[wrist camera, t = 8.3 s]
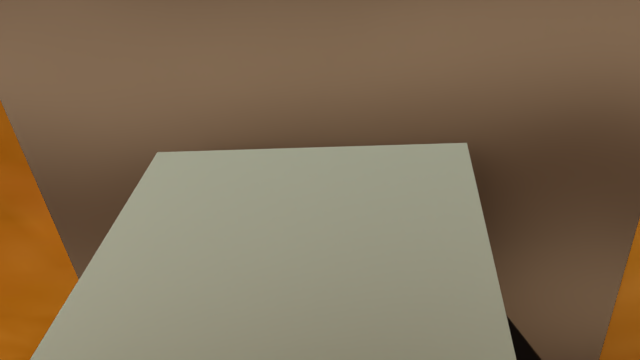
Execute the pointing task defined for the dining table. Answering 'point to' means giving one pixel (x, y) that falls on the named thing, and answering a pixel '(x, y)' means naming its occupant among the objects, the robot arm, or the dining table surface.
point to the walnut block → (355, 116)
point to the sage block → (292, 261)
